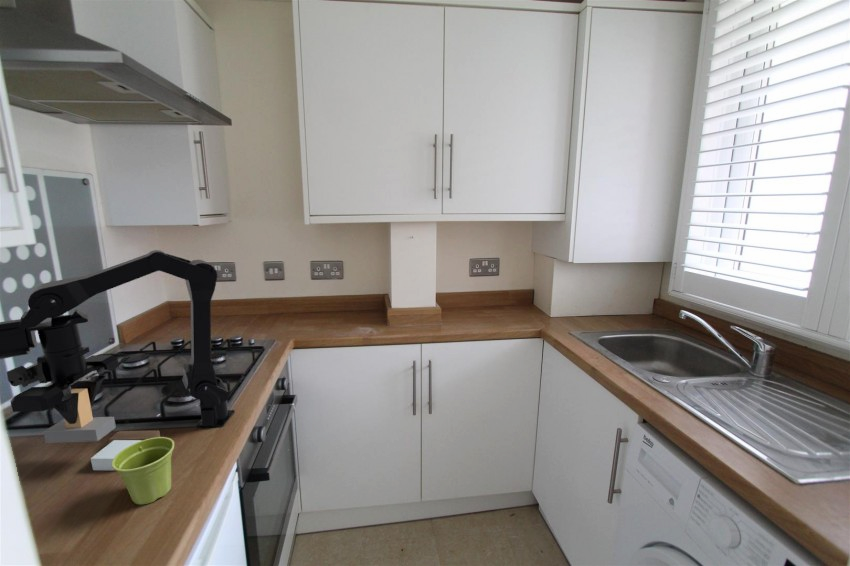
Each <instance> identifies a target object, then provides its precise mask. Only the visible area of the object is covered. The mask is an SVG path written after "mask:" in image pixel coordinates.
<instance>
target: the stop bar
mask: <svg viewBox="0 0 850 566" xmlns="http://www.w3.org/2000/svg"><path fill="white" fill-rule="evenodd" d="M155 437H161V433H160V430H119V431H117V432H116V433H115V434H114V435H112V436H111V437H109V439H108V441H109V442H108V444H110V443H111V442H112V441H114V440H141V441H142V440H146V439H150V438H155Z"/></svg>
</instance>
